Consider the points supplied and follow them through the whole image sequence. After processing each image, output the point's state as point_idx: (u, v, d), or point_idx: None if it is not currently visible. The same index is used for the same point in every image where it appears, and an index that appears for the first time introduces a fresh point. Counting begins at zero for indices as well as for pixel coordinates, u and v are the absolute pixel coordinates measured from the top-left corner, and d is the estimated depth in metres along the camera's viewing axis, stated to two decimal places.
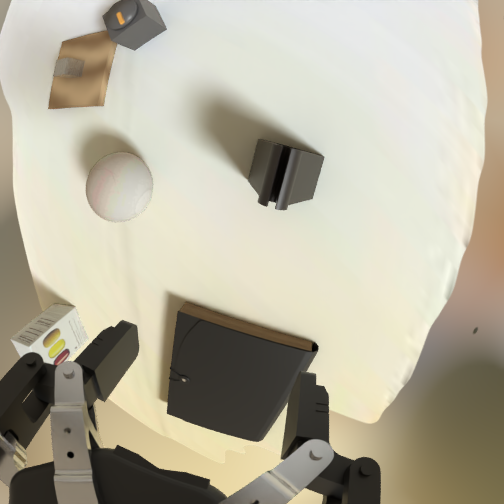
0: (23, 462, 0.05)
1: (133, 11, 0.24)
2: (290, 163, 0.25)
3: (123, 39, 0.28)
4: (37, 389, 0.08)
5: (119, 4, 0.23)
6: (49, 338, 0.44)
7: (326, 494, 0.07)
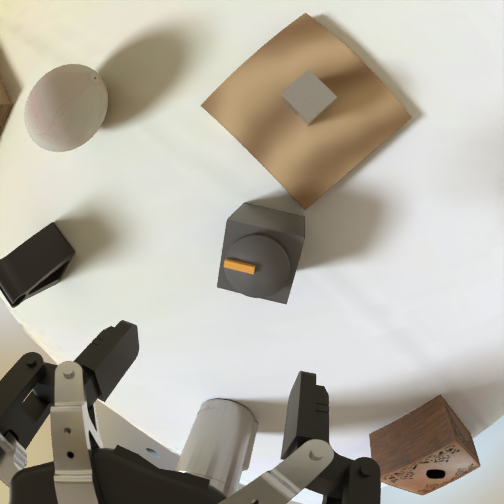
0: (23, 462, 0.05)
1: (233, 285, 0.23)
2: None
3: None
4: (37, 389, 0.08)
5: (274, 279, 0.22)
6: None
7: (326, 494, 0.07)
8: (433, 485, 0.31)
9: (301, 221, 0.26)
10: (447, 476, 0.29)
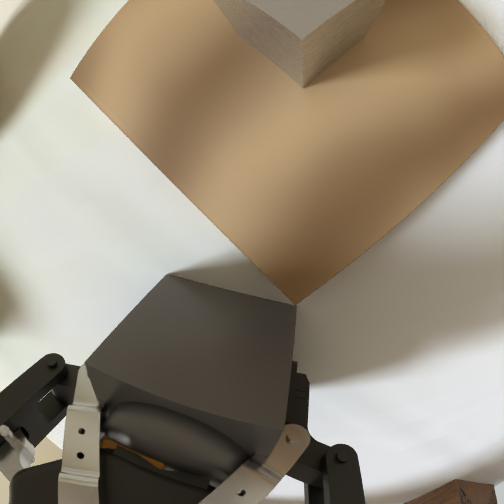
0: (30, 460, 0.05)
1: None
2: None
3: None
4: (58, 391, 0.08)
5: (212, 485, 0.07)
6: None
7: (305, 481, 0.08)
8: None
9: (287, 332, 0.11)
10: None
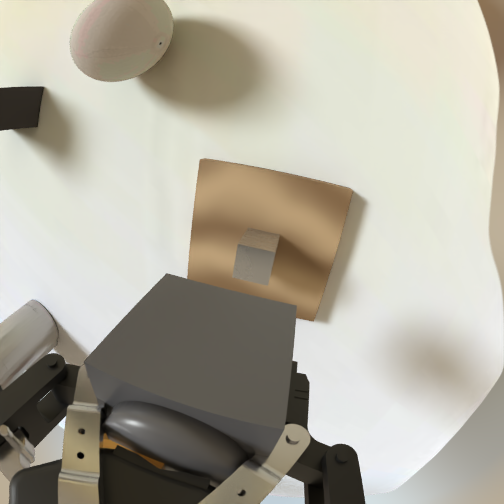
0: (30, 460, 0.05)
1: None
2: None
3: None
4: (58, 391, 0.08)
5: (212, 485, 0.07)
6: None
7: (305, 481, 0.08)
8: None
9: (287, 331, 0.10)
10: None
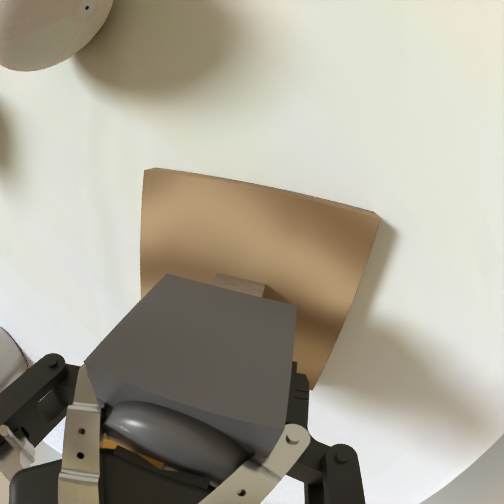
0: (30, 460, 0.05)
1: None
2: None
3: None
4: (58, 391, 0.08)
5: None
6: None
7: (305, 481, 0.08)
8: None
9: (287, 331, 0.11)
10: None
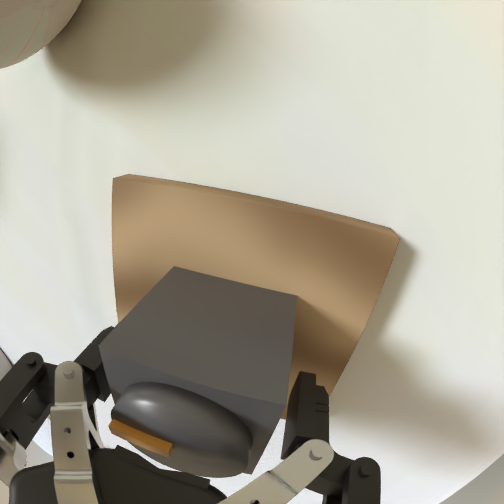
0: (23, 462, 0.05)
1: (143, 451, 0.09)
2: None
3: None
4: (37, 389, 0.08)
5: (218, 465, 0.08)
6: None
7: (326, 494, 0.07)
8: None
9: (288, 318, 0.11)
10: None
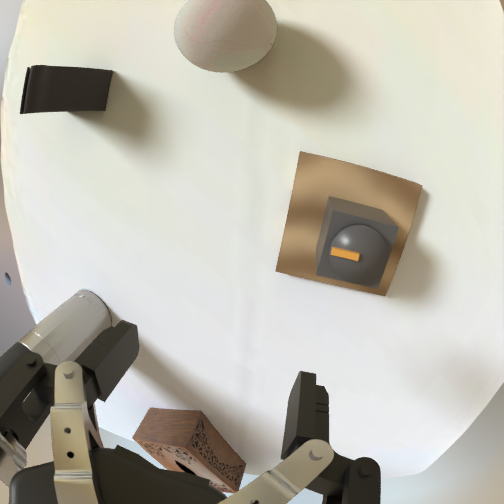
0: (23, 462, 0.05)
1: (335, 272, 0.24)
2: (21, 103, 0.20)
3: (328, 216, 0.25)
4: (37, 389, 0.08)
5: (374, 266, 0.23)
6: None
7: (326, 494, 0.07)
8: None
9: (384, 213, 0.26)
10: None
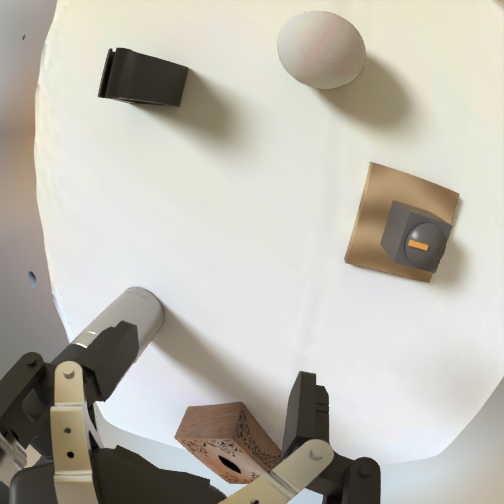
0: (23, 462, 0.05)
1: (410, 259, 0.28)
2: (100, 85, 0.24)
3: (402, 216, 0.29)
4: (37, 389, 0.08)
5: (436, 254, 0.27)
6: None
7: (326, 494, 0.07)
8: (234, 477, 0.54)
9: (435, 215, 0.30)
10: (243, 474, 0.52)
